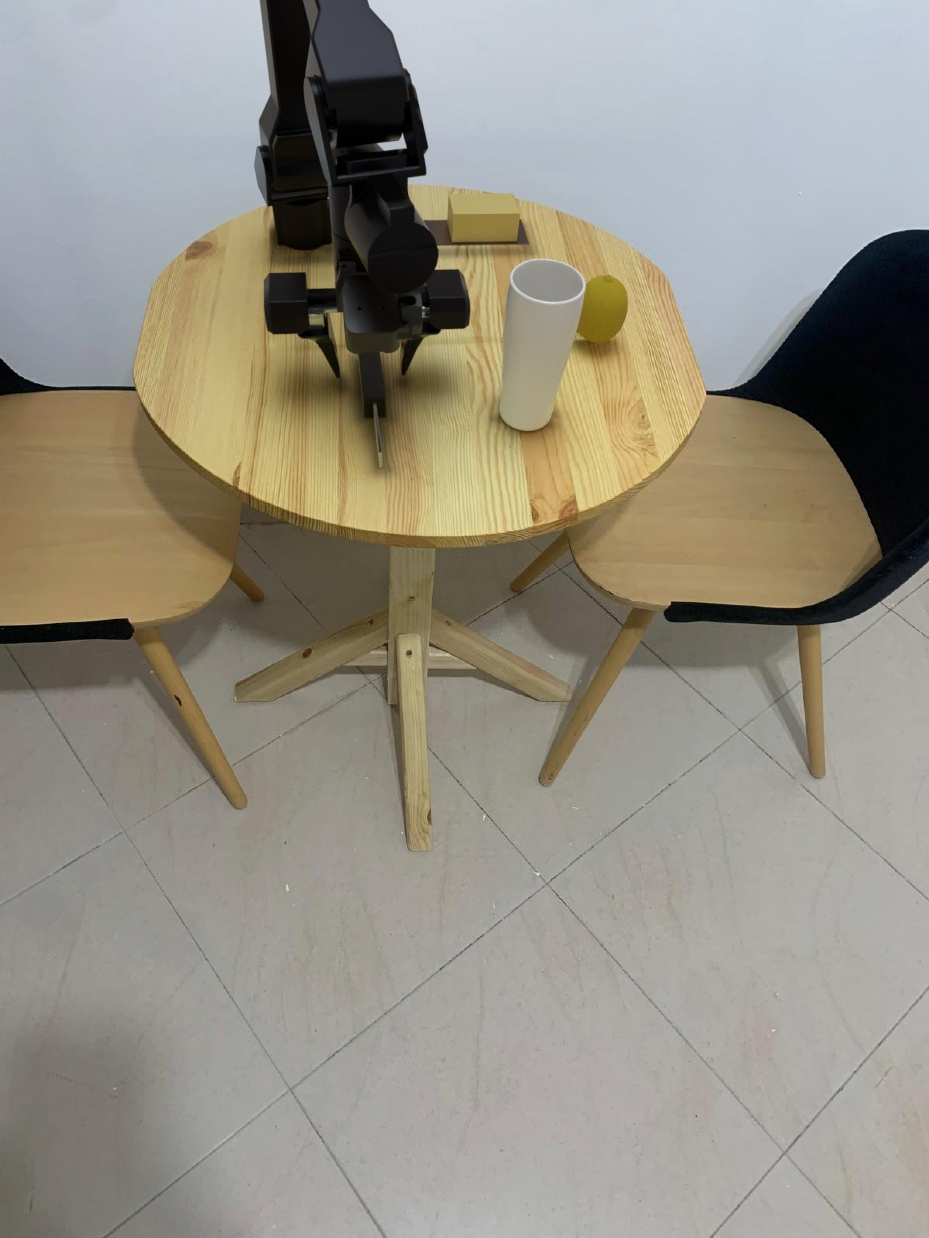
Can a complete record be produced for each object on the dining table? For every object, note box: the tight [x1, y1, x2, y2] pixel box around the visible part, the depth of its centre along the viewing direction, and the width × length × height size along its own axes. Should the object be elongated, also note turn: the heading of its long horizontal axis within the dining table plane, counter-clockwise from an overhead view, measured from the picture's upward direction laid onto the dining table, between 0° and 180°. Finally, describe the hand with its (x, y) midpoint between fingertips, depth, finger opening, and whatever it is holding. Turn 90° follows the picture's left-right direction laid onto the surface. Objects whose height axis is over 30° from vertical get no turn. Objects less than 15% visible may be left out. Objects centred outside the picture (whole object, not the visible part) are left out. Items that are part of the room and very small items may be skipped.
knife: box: [357, 352, 387, 469], centre depth 76 cm, size 2×16×2 cm, turn 8°
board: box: [423, 218, 530, 247], centre depth 95 cm, size 16×6×1 cm, turn 98°
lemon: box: [577, 274, 629, 344], centre depth 82 cm, size 6×6×8 cm
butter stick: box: [446, 192, 521, 242], centre depth 93 cm, size 8×4×4 cm, turn 98°
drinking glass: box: [498, 258, 587, 432], centre depth 72 cm, size 7×7×15 cm
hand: (370, 374), depth 79 cm, fingers open, 6 cm apart
